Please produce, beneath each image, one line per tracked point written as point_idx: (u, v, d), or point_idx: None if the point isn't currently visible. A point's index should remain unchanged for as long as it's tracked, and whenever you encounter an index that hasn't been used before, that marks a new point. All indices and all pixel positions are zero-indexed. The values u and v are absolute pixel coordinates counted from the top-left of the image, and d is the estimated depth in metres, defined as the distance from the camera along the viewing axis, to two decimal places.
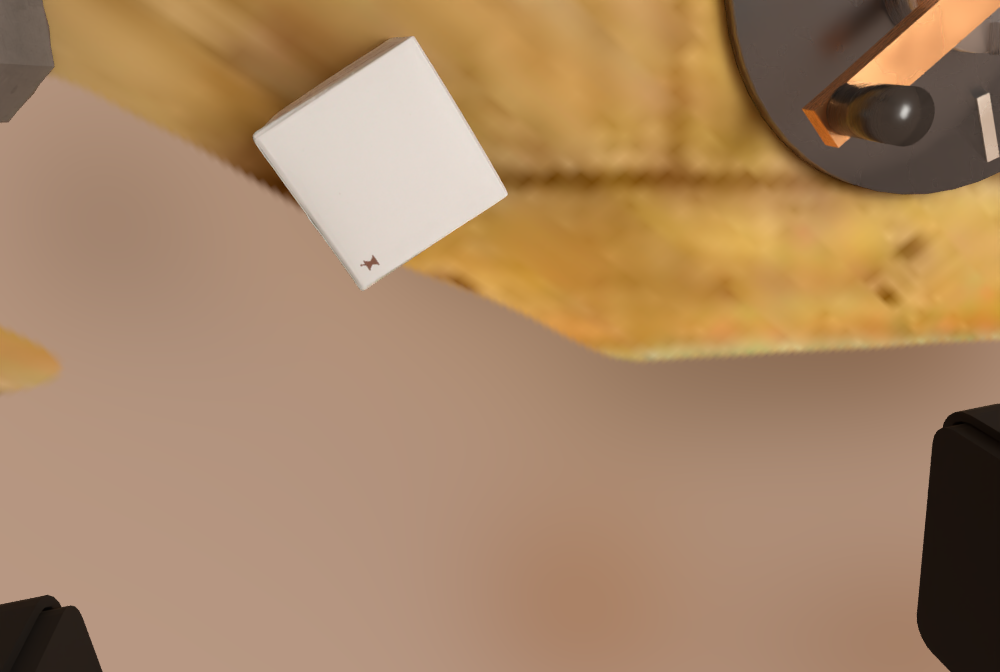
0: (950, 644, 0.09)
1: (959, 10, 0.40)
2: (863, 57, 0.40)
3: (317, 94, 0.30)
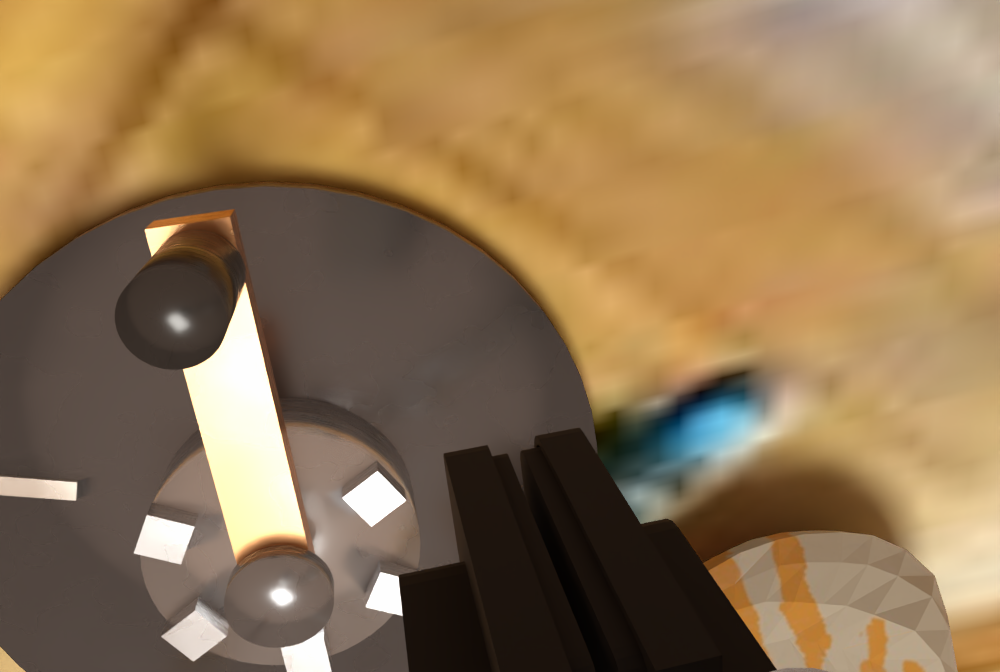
0: None
1: (254, 471, 0.27)
2: (260, 325, 0.26)
3: None
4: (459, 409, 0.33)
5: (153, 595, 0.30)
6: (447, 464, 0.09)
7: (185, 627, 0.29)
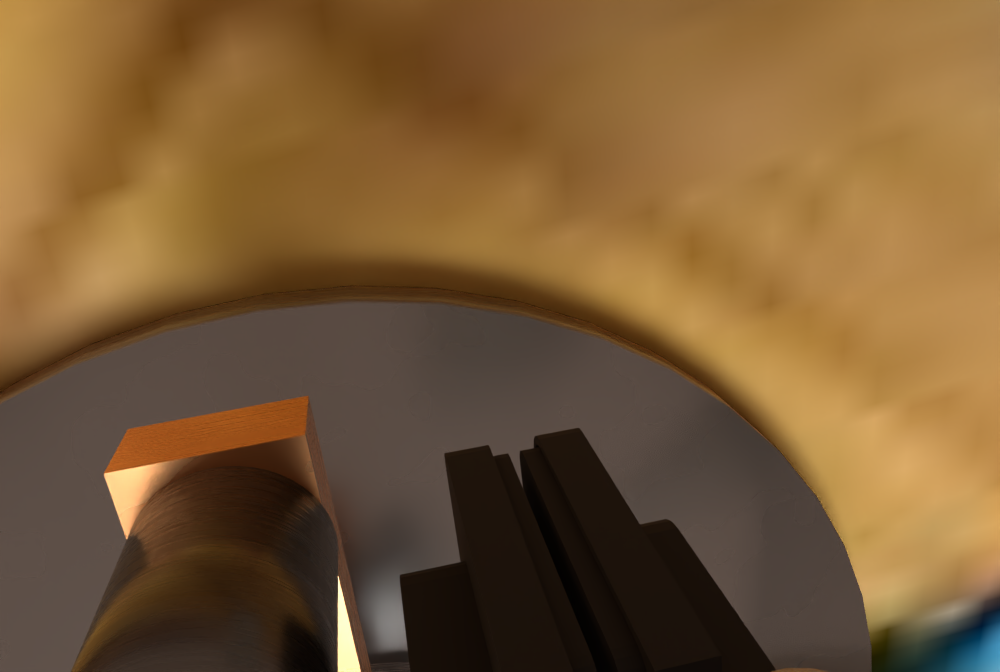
0: None
1: None
2: (358, 625, 0.12)
3: None
4: None
5: None
6: (448, 464, 0.09)
7: None
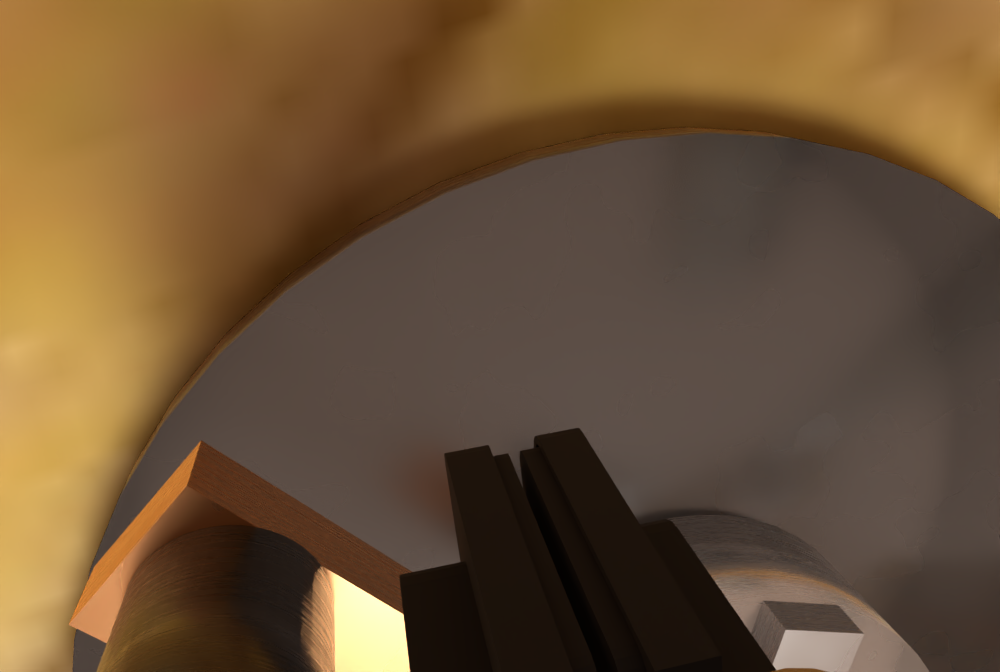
0: None
1: None
2: None
3: None
4: (944, 517, 0.20)
5: None
6: (448, 464, 0.09)
7: None
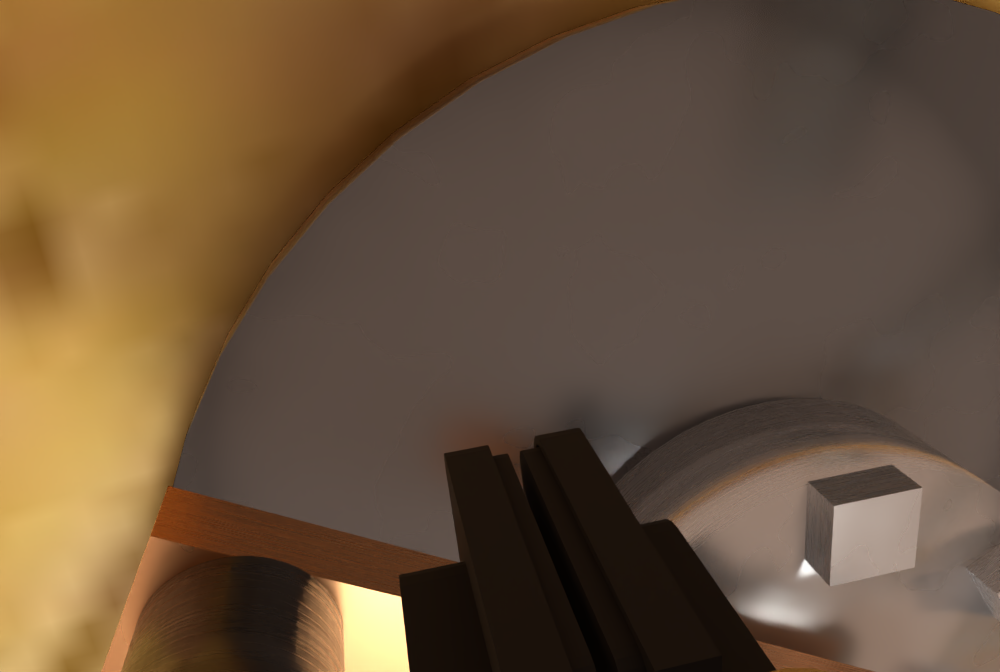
0: None
1: None
2: (427, 566, 0.12)
3: None
4: None
5: None
6: (447, 464, 0.09)
7: None
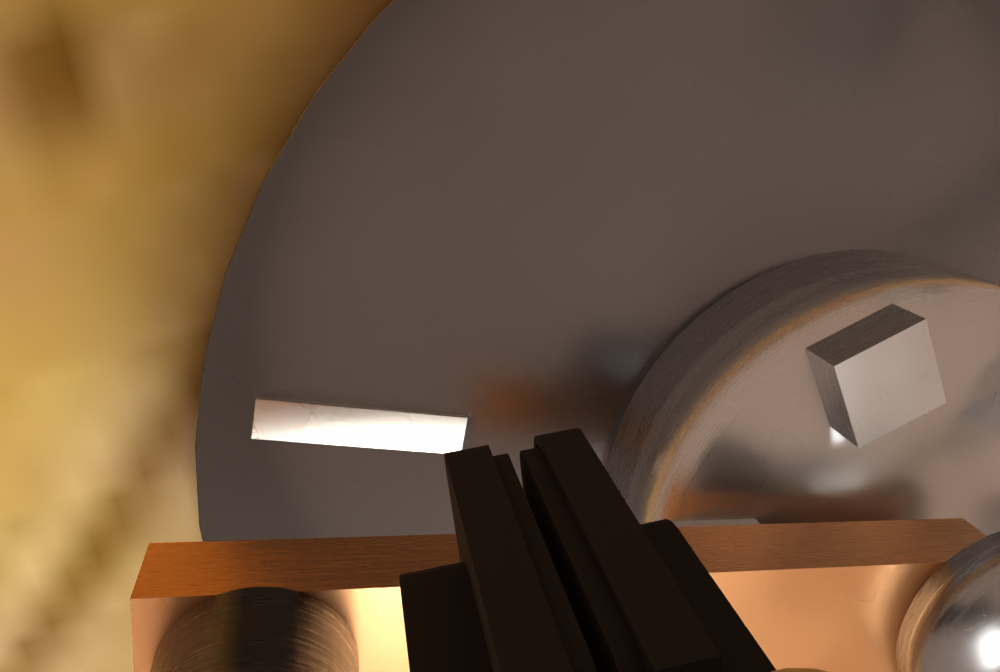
0: None
1: None
2: (424, 547, 0.12)
3: None
4: None
5: None
6: (447, 464, 0.09)
7: None
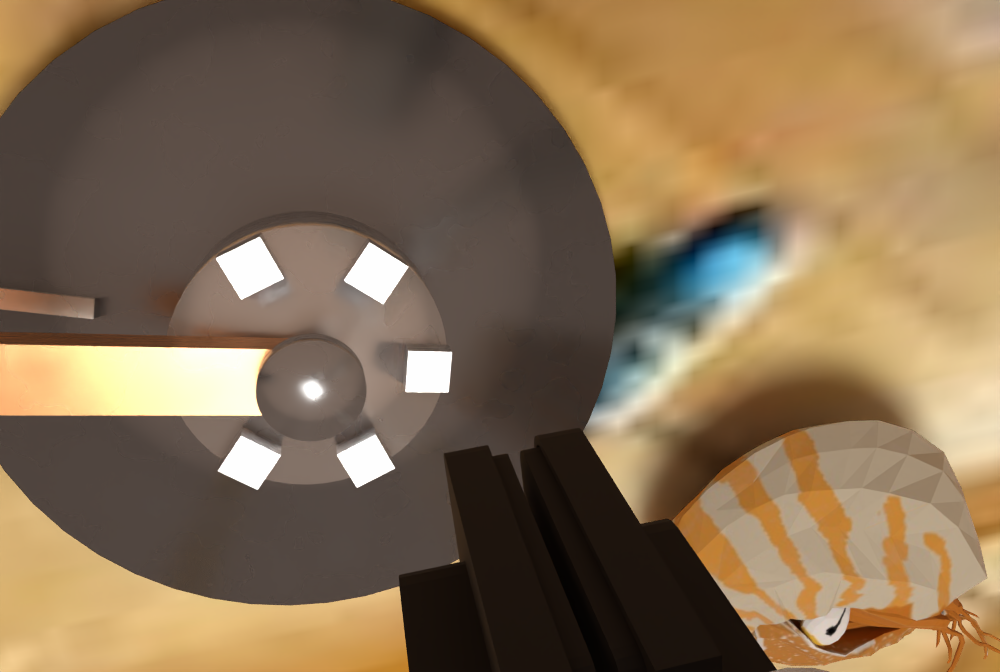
0: None
1: (165, 379, 0.27)
2: (14, 335, 0.26)
3: None
4: (480, 231, 0.33)
5: (323, 480, 0.31)
6: (447, 464, 0.09)
7: (353, 466, 0.31)
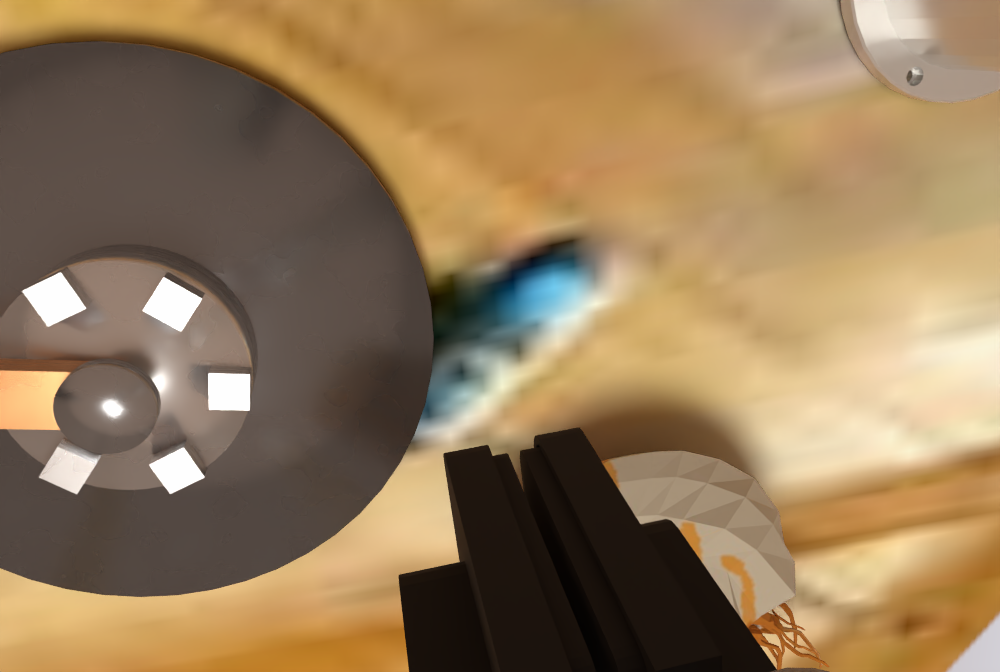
0: None
1: None
2: None
3: None
4: (296, 262, 0.36)
5: (143, 486, 0.35)
6: (447, 464, 0.09)
7: (165, 475, 0.34)
